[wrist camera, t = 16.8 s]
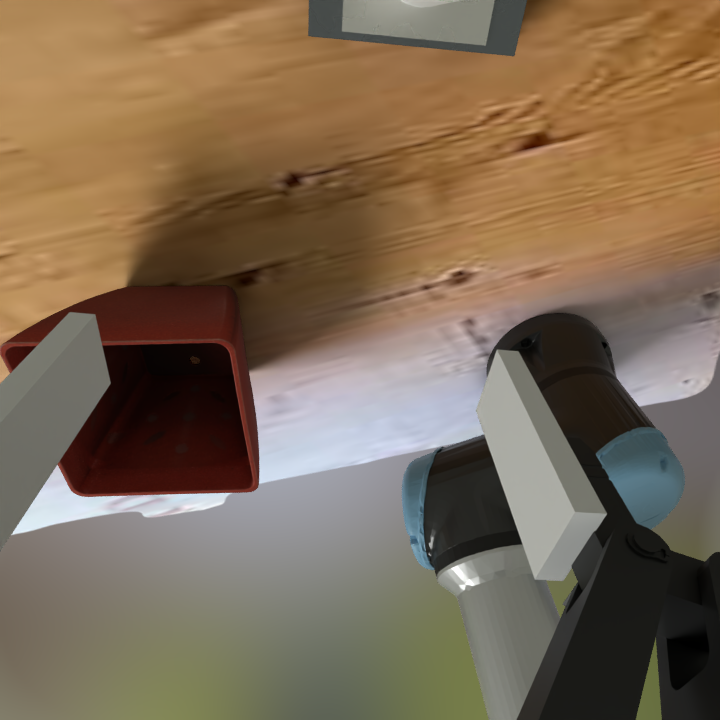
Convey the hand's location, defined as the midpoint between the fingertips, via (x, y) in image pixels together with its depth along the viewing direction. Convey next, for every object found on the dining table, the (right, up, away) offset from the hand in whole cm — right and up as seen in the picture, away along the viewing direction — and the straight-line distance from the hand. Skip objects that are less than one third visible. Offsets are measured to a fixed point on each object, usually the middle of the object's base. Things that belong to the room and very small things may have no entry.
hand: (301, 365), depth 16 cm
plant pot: (-19, +4, +42) cm, 46 cm away
